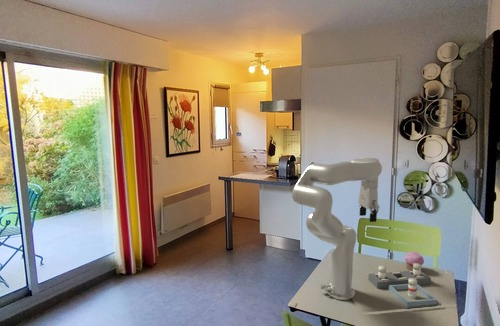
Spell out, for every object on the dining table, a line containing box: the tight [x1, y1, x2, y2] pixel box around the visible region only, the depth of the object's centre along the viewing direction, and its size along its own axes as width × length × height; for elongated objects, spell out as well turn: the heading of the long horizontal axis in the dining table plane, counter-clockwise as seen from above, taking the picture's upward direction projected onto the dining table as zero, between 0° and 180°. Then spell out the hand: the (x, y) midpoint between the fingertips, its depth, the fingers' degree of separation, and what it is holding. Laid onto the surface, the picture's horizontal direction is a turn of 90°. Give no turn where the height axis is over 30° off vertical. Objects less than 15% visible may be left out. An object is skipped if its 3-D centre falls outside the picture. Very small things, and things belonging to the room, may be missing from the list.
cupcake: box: [403, 251, 425, 271], centre depth 165 cm, size 9×9×10 cm
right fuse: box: [413, 263, 422, 277], centre depth 154 cm, size 3×3×8 cm
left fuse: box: [377, 265, 387, 280], centre depth 152 cm, size 3×3×8 cm
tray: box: [388, 284, 438, 310], centre depth 141 cm, size 14×14×3 cm
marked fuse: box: [407, 278, 418, 300], centre depth 141 cm, size 3×3×8 cm
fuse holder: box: [367, 270, 432, 289], centre depth 153 cm, size 27×8×4 cm, turn 98°
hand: (367, 218), depth 156 cm, fingers open, 9 cm apart
